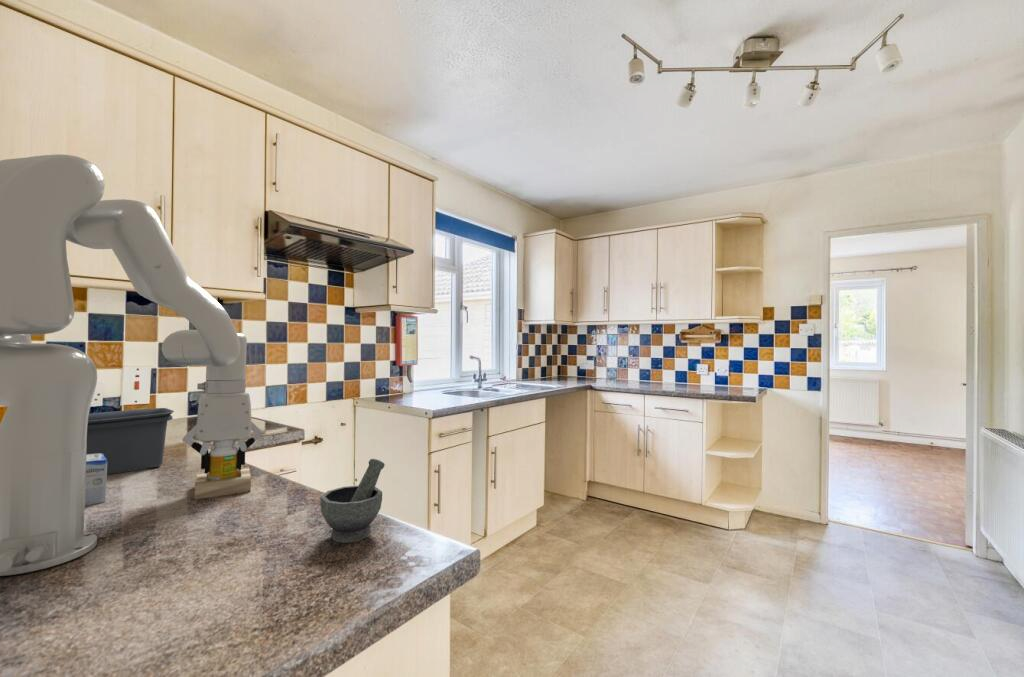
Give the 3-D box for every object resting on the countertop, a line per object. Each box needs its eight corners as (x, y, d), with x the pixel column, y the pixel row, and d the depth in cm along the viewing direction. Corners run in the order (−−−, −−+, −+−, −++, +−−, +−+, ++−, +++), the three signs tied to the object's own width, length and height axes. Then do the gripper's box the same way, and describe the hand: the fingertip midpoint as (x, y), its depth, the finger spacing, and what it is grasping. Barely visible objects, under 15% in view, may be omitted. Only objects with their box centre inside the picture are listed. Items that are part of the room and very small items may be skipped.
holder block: (250, 491, 98) (251, 477, 98) (194, 499, 93) (194, 484, 93) (248, 479, 107) (249, 467, 107) (197, 486, 101) (197, 472, 101)
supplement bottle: (223, 487, 96) (224, 441, 97) (201, 485, 98) (203, 440, 98) (242, 480, 102) (244, 437, 102) (222, 478, 103) (223, 435, 103)
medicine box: (72, 498, 93) (74, 455, 93) (101, 493, 96) (103, 452, 96) (75, 507, 87) (77, 462, 88) (106, 502, 91) (107, 458, 91)
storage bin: (60, 486, 101) (62, 421, 101) (51, 473, 110) (53, 414, 111) (176, 467, 117) (177, 411, 117) (159, 457, 127) (161, 406, 127)
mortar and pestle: (342, 553, 70) (343, 474, 70) (308, 537, 75) (310, 465, 75) (398, 529, 79) (400, 460, 79) (365, 517, 84) (366, 453, 85)
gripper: (176, 390, 92) (173, 480, 92) (270, 388, 102) (268, 469, 101) (179, 387, 99) (176, 471, 98) (268, 385, 108) (266, 461, 107)
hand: (223, 469), depth 100 cm, fingers closed on supplement bottle, 5 cm apart
